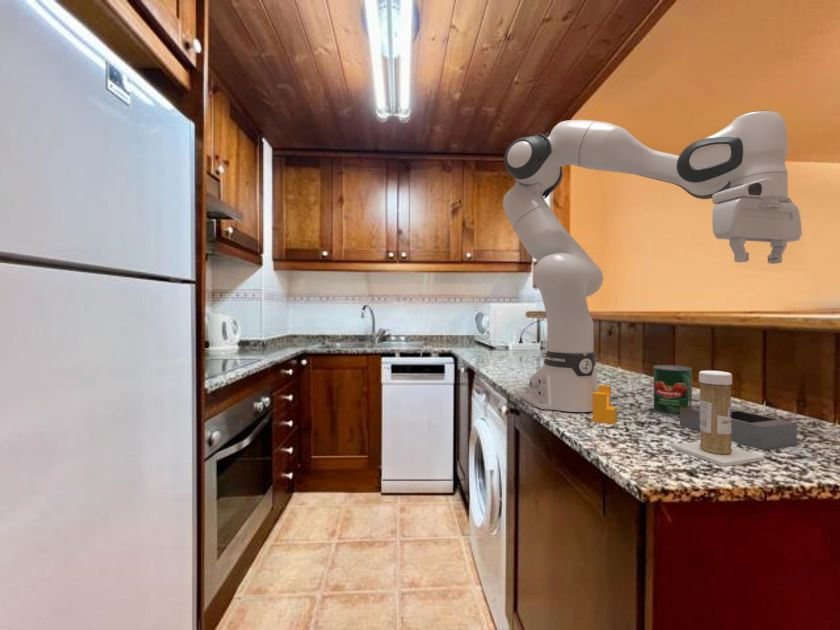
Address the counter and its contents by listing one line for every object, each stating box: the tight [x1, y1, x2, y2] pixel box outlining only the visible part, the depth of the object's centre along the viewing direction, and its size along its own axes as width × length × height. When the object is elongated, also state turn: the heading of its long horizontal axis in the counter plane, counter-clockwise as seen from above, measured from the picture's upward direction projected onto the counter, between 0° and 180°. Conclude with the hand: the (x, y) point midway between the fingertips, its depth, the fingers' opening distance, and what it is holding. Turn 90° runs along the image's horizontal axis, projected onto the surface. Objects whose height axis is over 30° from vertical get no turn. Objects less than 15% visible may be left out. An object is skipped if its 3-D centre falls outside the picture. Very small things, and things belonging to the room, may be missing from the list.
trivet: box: [671, 440, 766, 468], centre depth 68 cm, size 9×9×1 cm
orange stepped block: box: [592, 384, 618, 425], centre depth 93 cm, size 12×4×6 cm, turn 149°
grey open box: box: [679, 404, 798, 451], centre depth 79 cm, size 16×9×4 cm, turn 17°
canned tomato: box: [653, 364, 693, 417], centre depth 96 cm, size 8×8×11 cm
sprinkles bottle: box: [698, 370, 733, 454], centre depth 68 cm, size 5×5×14 cm
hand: (758, 262), depth 81 cm, fingers open, 8 cm apart
